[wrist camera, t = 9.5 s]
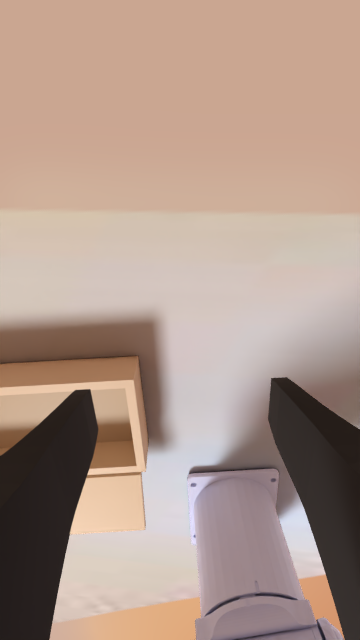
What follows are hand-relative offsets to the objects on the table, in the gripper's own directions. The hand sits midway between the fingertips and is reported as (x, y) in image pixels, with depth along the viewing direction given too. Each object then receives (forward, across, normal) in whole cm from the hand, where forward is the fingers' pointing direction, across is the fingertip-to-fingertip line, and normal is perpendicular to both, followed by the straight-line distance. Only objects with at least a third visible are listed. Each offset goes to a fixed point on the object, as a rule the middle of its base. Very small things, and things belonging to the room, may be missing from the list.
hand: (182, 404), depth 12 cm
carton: (+9, +11, +7) cm, 16 cm away
